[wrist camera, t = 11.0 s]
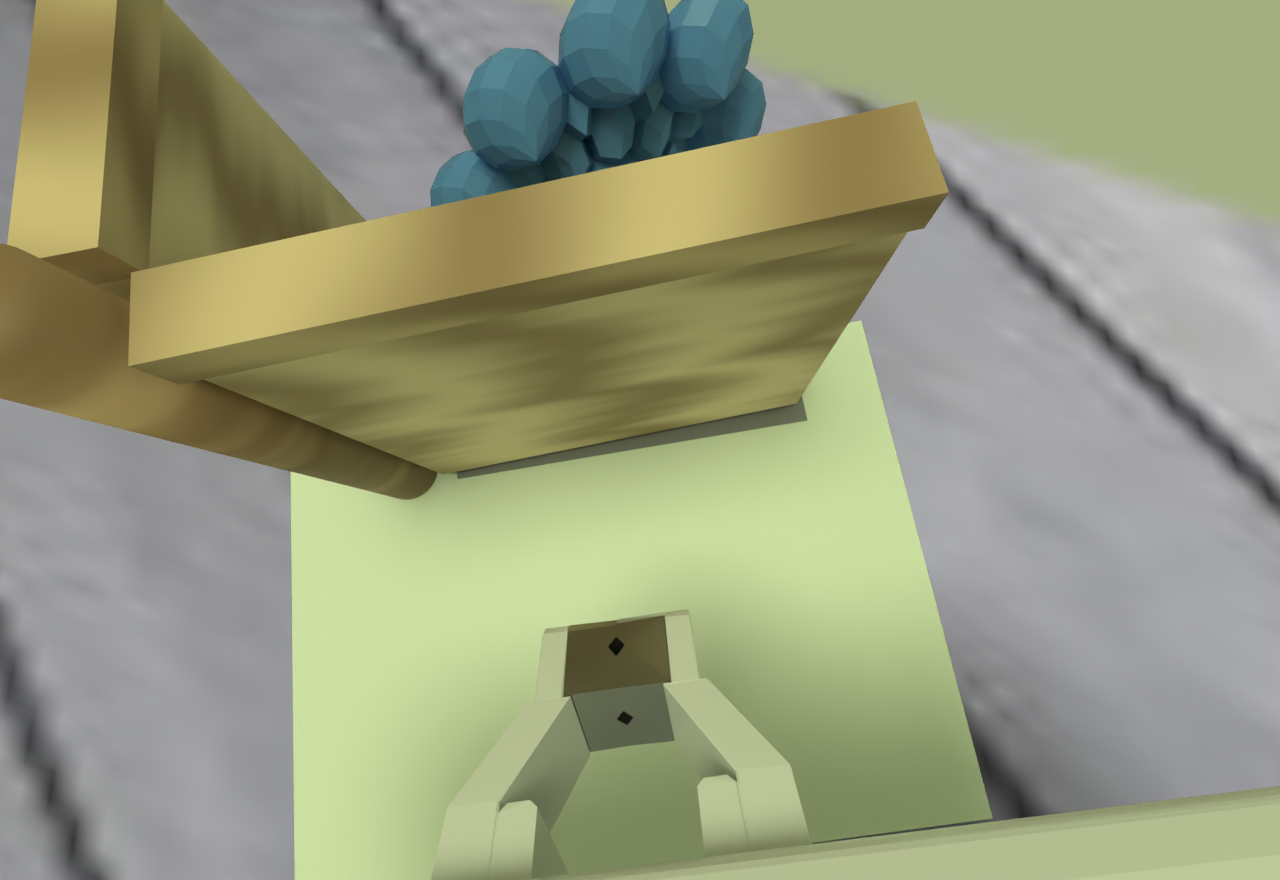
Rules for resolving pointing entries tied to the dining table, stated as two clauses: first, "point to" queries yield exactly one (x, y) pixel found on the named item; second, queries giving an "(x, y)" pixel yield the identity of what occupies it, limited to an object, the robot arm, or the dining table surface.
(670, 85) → the grapes
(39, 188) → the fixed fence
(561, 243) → the gate panel
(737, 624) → the board
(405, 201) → the dining table surface
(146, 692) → the dining table surface
